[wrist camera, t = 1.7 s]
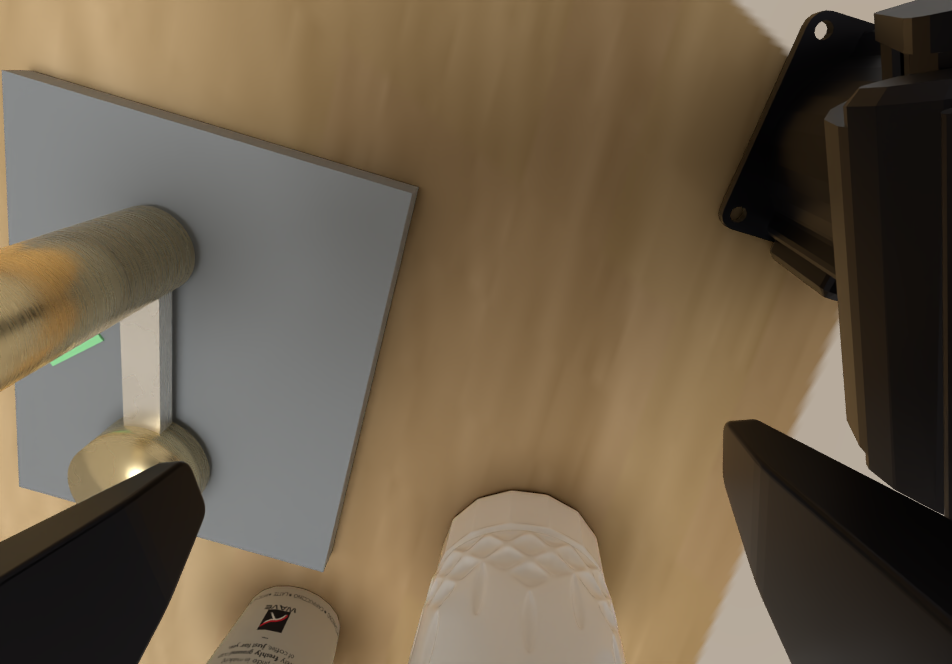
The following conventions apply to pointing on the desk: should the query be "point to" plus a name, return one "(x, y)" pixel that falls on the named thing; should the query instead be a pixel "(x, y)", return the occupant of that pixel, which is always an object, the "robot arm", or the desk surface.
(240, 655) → the coffee cup
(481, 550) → the white cup
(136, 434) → the brass crank handle
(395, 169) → the desk surface
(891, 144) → the robot arm
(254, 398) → the gray board
